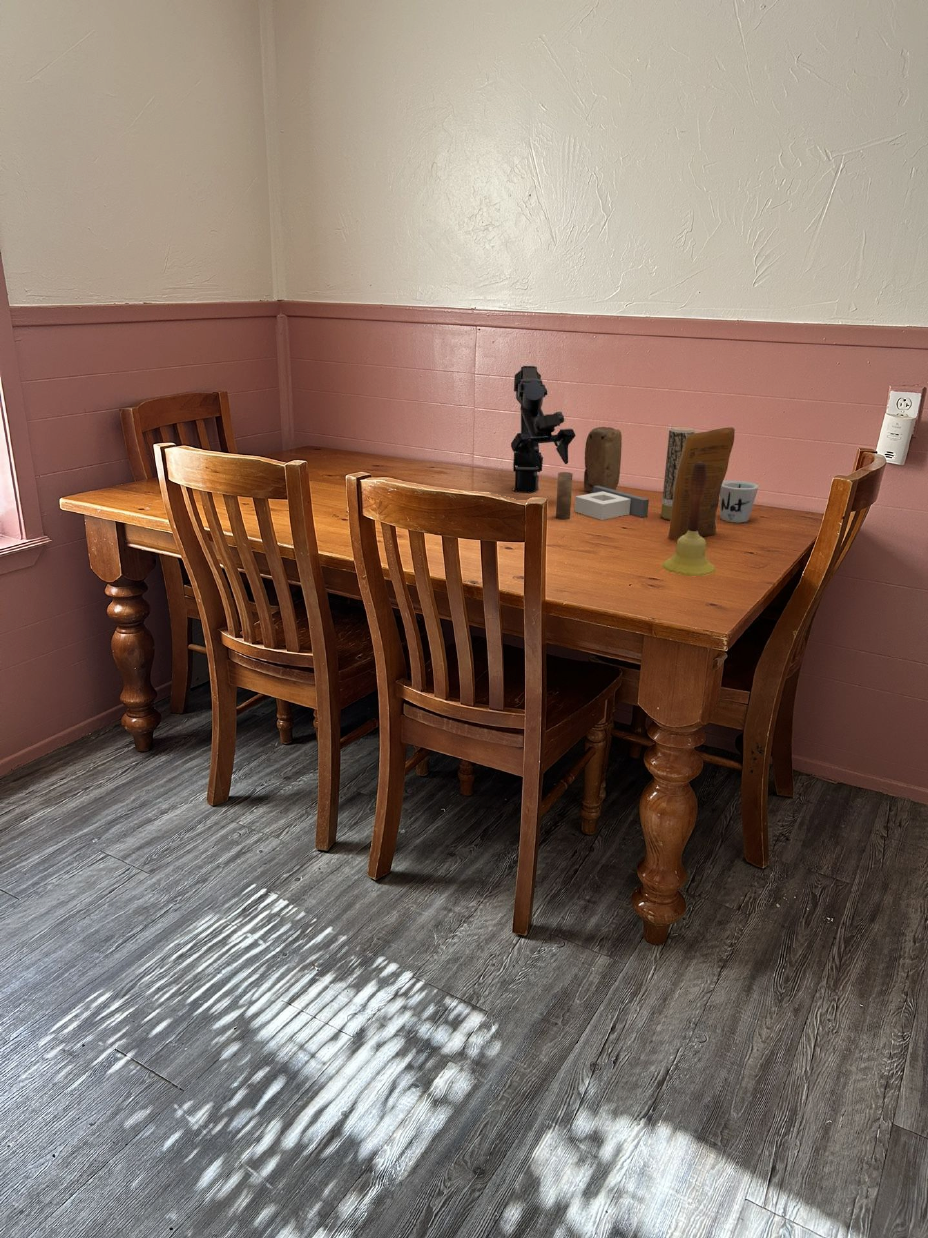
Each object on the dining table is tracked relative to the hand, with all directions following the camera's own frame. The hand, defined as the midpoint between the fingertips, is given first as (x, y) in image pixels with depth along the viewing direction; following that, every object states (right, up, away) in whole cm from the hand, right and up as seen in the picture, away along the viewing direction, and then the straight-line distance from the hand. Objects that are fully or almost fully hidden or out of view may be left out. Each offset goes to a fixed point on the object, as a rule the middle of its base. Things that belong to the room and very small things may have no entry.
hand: (553, 464), depth 249 cm
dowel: (+2, -15, -2) cm, 15 cm away
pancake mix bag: (+36, -22, -17) cm, 45 cm away
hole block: (+14, -13, +3) cm, 20 cm away
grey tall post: (+34, -15, -1) cm, 37 cm away
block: (+17, -4, +26) cm, 32 cm away
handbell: (+28, -32, -42) cm, 59 cm away
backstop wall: (+20, -12, +7) cm, 24 cm away
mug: (+52, -15, +1) cm, 54 cm away
